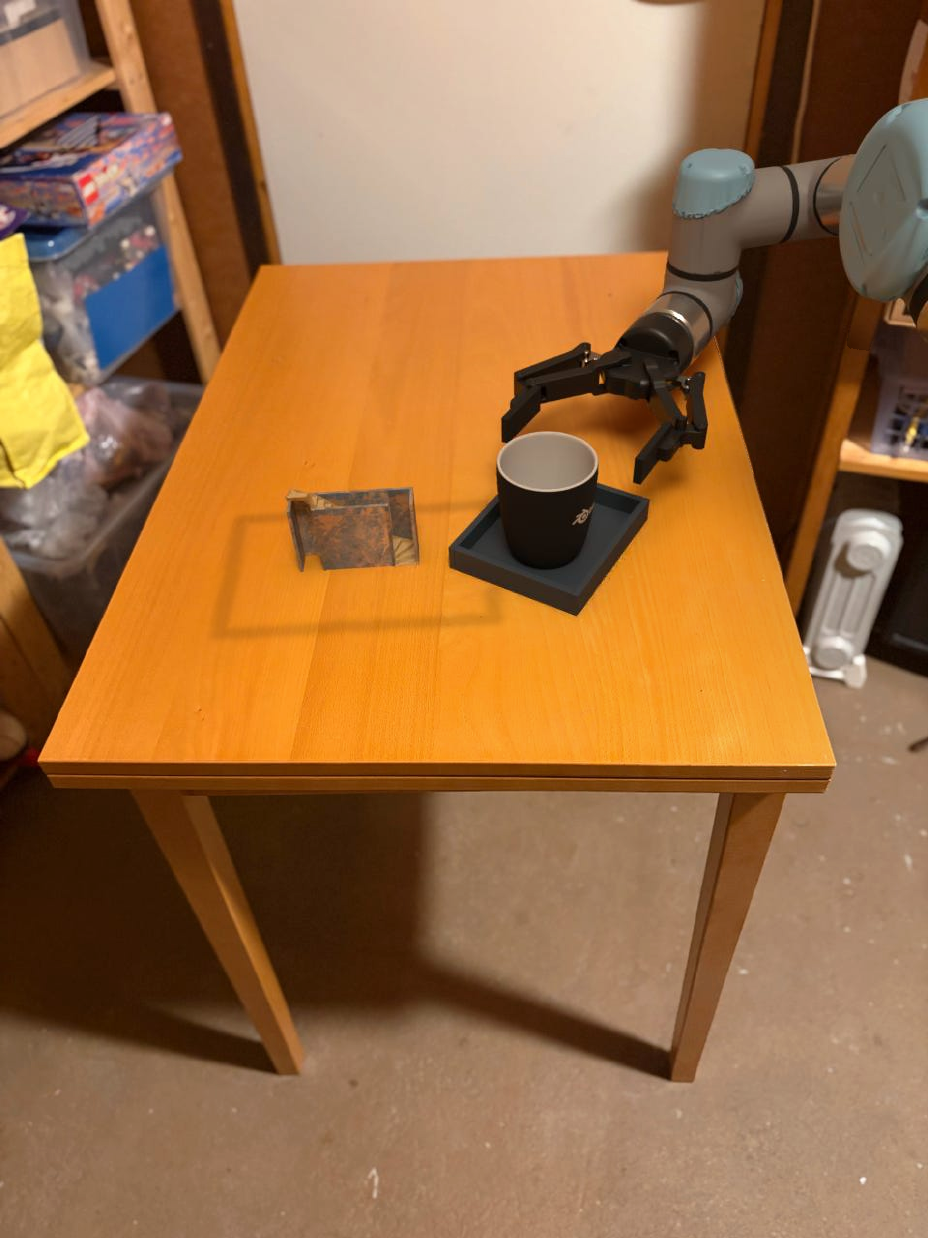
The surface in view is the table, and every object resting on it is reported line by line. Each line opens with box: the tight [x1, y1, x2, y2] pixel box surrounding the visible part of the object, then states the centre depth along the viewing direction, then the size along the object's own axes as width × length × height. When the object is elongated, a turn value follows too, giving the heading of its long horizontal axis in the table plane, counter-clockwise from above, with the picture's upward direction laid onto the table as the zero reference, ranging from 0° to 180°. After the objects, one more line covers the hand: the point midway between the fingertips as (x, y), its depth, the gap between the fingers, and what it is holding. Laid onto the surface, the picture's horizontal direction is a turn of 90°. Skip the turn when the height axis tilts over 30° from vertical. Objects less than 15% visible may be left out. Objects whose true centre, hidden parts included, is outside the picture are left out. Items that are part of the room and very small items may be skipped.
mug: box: [495, 431, 599, 569], centre depth 86 cm, size 12×9×10 cm
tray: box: [447, 482, 651, 617], centre depth 89 cm, size 13×15×2 cm
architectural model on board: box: [284, 486, 420, 573], centre depth 86 cm, size 11×3×10 cm, turn 92°
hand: (568, 450), depth 85 cm, fingers open, 13 cm apart
